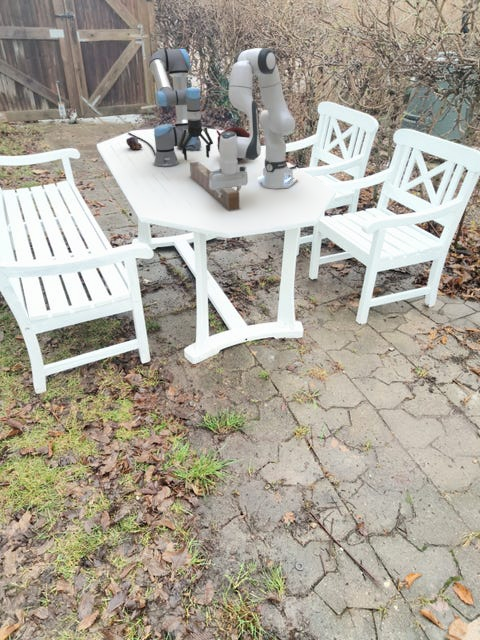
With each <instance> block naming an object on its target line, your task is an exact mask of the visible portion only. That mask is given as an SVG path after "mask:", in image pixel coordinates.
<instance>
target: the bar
mask: <svg viewBox="0 0 480 640" xmlns="http://www.w3.org/2000/svg"><path fill="white" fill-rule="evenodd" d="M189 170H190V178H192V180H194V181H195V182H196V184H198V185H199V186H201V187H202V188H203V189H204V190H205V191H207V192H208V194H210V195H211V196H212V197H213V198H214V199H216V200H217V201H218V202H219V203H220V204H221V205H222V206H224V207H225V209H227V210H228V211H234V210H240V191H239V192H237V191H236V190H237V189H235V188H234V187H231V188H225V189H220V191H219V192H220V193H221V194H222V198H219V197H218V193H217V191H216V190H212V189H210V187H209V181H210V178H209V174H210V172H212V170H210V169H209V168H208V167H206V166H205V165H203V164H202V163H200V162H199V161H194V162H190V163H189Z"/></svg>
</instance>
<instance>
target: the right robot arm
mask: <svg viewBox="0 0 480 640" xmlns="http://www.w3.org/2000/svg"><path fill="white" fill-rule="evenodd" d="M254 76H257V81H258V87H259V93H260V98H261V103H262V105H264V107H265V109H264V110H262V111H261V113H260V114H259V107H258V103H257V102H256V101H255V100H254V97H253V77H254ZM228 101H229V103H230V104H231V105H232V106H233V107H234V108H235V109H237V110H238V111H241V112H243V113H244V114H245V116H247V118H248V126H249V134H250V137H249V138H246V137H237V136H236V133H234V132H230V131H228V132H224V133H222V132H221V133H222V134H221V133H220V134H221V136H220V143H219V150H218V153H219V161H218V162H219V163H218V164H219V169H213V170H211V172H210V174H209V178H210V181H209V187H210V189H212V190H216V191H217V193H218V197H219V198H222V194H221V193H220V192H219V191H220V189H225V188H231V187H232V188H236V189H235V190H236V191H237V192H239V193H240V190H241V189H242V186H247V184H248V182H249V177H248V172H247V169H248V168H247V167H246V166H245V165H244V164H241V163H238V162H239V161H237V158H245V159H246V160H250V161H255V160H256V159H257V158H259V156H260V155H261V153H262V145H261V144H262V143H261V137H260V127H261V129H262V132H263V138H264V142H265V143H264V144H265V159H264V167H263V170H262V175H261V176H258V177H257V180H260V179H261V180H260V183H261V185H262V187H264V188H266V189H274V190H275V189H276V190H277V189H289V188H290V187H291V186H293V185H294V184H295V183H296V182H297V181H298V180H297V178H295V177H294V171H293V170H292V169H295V168H297V167H299V163H298V161H296V162H295V164H296V165H294V166H290V167H289V166H288V163H290V158H286V155H287V143H286V141H285V140H284V137H283V136H290V135H291V134H292V133H293V132H295V129H296V120H295V118H294V117H293V115H292V114H291V112H290V109H289V107H288V105H287V103H286V100H285V96H284V91H283V86H282V79H281V75H280V71H279V68H278V64H277V56H276V53H275V52H274V51H273V50H272V49H271V48H267V47H263V48H261V47H255V48H250V49H246V50H245V49H242V50H241V51H238V52H237V53H236V54H235V56H234V59H233V65H232V68H231V71H230V76H229V82H228ZM245 159H244V160H245Z"/></svg>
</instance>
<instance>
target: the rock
mask: <svg viewBox="0 0 480 640" xmlns="http://www.w3.org/2000/svg"><path fill="white" fill-rule="evenodd" d="M137 137H138V136H137ZM137 137H134V136H130V137H128V138H126V140H125V142H126V144H127V146H128V147H129V149H131V150H141V149H143V146H142V143H140V142H139V140H138V139H139V138H137Z"/></svg>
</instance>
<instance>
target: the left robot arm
mask: <svg viewBox="0 0 480 640" xmlns="http://www.w3.org/2000/svg"><path fill="white" fill-rule="evenodd" d="M148 66H149V67H148V68H149V71H150V73H151V74H152V75H153V78H154V81H155V85H156V88H157V91H156V93H155V97H156V103H157V105H158V106H159V107H171V106H173V107H174V106H175V112H176V113H175V114H176V115H175V116H176V121H175V122H174V126H173V125H172V124H171V123H165V124H160V125H158V126H157V125H156V127H155V128H154V129H153V136H154V142H155V143H154V145H155V149H154V147H153V145H151V144H150V143H149V142H148V141H147V140H145V139H143V138H141V137H139V136H136V135H135V134H133V133H130V132H127V134H128V135H131V137H137V139H139V140H141V141H142V142H144V143H146V144H147V145H148V146H149V147H150V148H151V150H152V152H153V155H154V165H155V166H157V167H163V168H164V167H165V168H167V167H168V168H169V167H174V166H177V165H178V164H179V159H178V157H177V153H176V151H175V147H177V146H179V147H180V148H182V149H181V153H182V155H183V160H184V161H188V156H187V154H188V153H187V150H186V148H185V147H186V145H188V146H189V145H194V144H195V142H196V137H199V138H200V139H202V140H203V142H204V143H205V153H206V154H205V157H206V158H207V159H209V158H210V152H211V146H212V145H214V141H213V140H212V138H211V135H210V133H209V132H208V128H207V127H206V126H204V127H202V111H201V92H200V88H198V87H188V82H187V77H188V75H189V72H190V71H191V69H192V68H191V67H192V66H191V59H190V56H189V53H188V50H187V49H185V48H166V49H165V48H162V49H158V50H156V51H155V52H154V53H153V54H152V55H151V56H150V58H149V62H148ZM168 73H169V76H170V77H171V79H172V86H171V83H170V80H169V77H168ZM172 88H173V89H172ZM202 132H204V134H205V136H204V135H203V134H202ZM205 137H206V138H205ZM180 148H179V149H180Z"/></svg>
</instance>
